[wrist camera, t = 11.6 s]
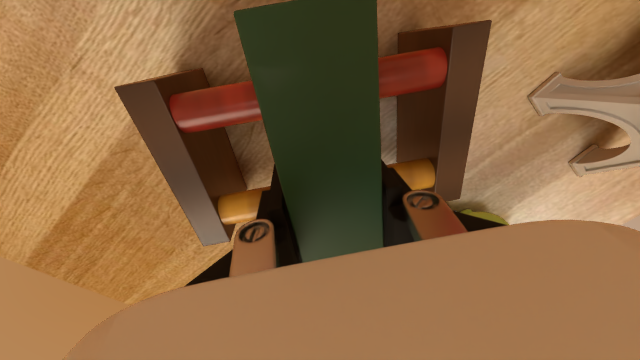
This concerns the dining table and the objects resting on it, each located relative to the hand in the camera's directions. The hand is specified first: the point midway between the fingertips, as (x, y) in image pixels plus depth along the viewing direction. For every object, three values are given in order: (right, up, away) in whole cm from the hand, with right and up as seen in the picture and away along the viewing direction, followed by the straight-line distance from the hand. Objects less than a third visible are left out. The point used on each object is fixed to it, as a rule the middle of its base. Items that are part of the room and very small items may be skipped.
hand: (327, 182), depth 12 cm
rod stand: (-1, +5, +9) cm, 10 cm away
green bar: (0, 0, 0) cm, 0 cm away
